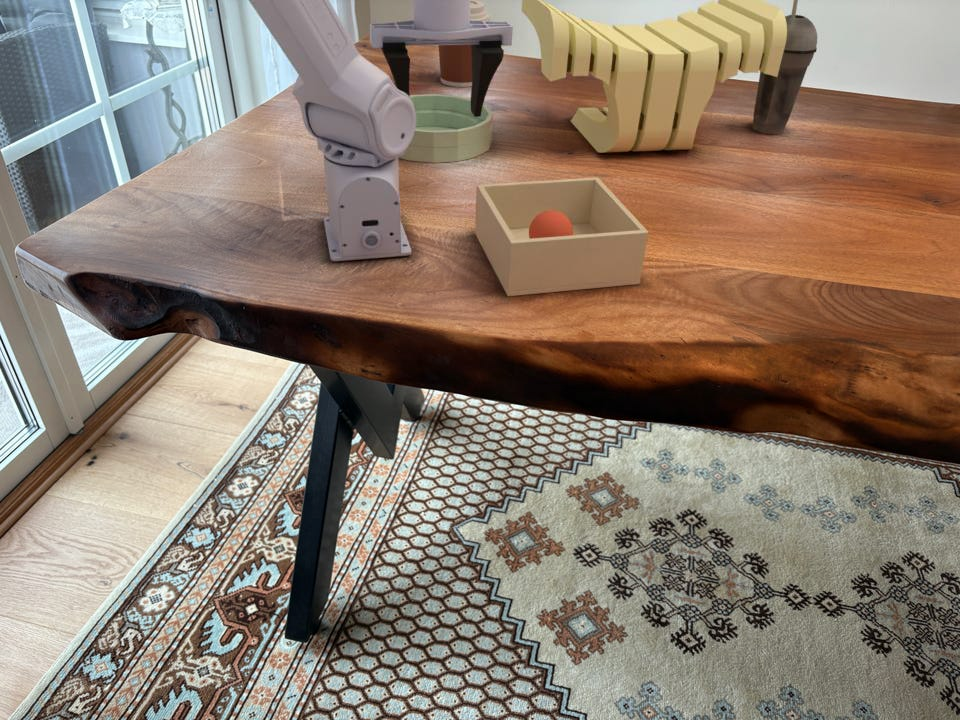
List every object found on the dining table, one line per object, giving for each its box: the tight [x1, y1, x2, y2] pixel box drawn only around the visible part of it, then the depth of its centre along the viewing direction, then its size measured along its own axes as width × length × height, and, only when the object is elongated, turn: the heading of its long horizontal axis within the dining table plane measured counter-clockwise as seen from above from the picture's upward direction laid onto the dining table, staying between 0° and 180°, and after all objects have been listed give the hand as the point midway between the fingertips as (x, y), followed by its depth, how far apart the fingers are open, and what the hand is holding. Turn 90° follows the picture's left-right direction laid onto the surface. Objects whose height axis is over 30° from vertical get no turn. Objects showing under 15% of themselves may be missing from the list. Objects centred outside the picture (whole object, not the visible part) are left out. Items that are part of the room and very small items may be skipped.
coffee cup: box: [437, 0, 491, 88], centre depth 124 cm, size 9×9×12 cm
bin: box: [474, 176, 649, 297], centre depth 76 cm, size 13×13×6 cm
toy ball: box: [529, 210, 573, 239], centre depth 76 cm, size 4×4×4 cm
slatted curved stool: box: [521, 0, 787, 154], centre depth 102 cm, size 30×16×18 cm, turn 101°
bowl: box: [398, 93, 494, 164], centre depth 101 cm, size 15×15×4 cm
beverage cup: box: [751, 0, 818, 135], centre depth 107 cm, size 7×7×20 cm
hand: (441, 115), depth 84 cm, fingers open, 7 cm apart
